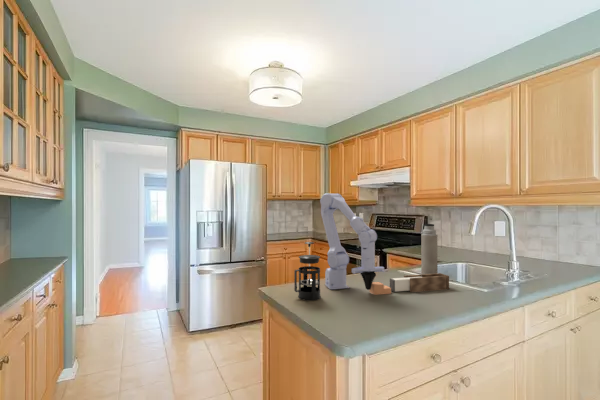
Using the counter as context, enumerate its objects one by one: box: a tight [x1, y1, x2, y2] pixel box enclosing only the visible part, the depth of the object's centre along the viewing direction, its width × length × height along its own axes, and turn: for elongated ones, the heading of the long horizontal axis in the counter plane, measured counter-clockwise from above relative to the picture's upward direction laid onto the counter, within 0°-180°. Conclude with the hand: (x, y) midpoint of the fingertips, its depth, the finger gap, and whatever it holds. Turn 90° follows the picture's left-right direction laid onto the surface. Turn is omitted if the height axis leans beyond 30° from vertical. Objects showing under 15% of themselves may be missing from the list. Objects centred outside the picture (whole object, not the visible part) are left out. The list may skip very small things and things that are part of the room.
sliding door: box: [389, 277, 418, 293], centre depth 138 cm, size 16×3×5 cm, turn 104°
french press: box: [293, 241, 321, 302], centre depth 128 cm, size 12×9×23 cm
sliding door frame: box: [403, 272, 450, 293], centre depth 140 cm, size 20×6×6 cm, turn 104°
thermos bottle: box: [420, 223, 439, 274], centre depth 164 cm, size 8×8×28 cm
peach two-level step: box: [369, 281, 392, 296], centre depth 134 cm, size 8×4×4 cm, turn 103°
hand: (368, 289), depth 133 cm, fingers closed
